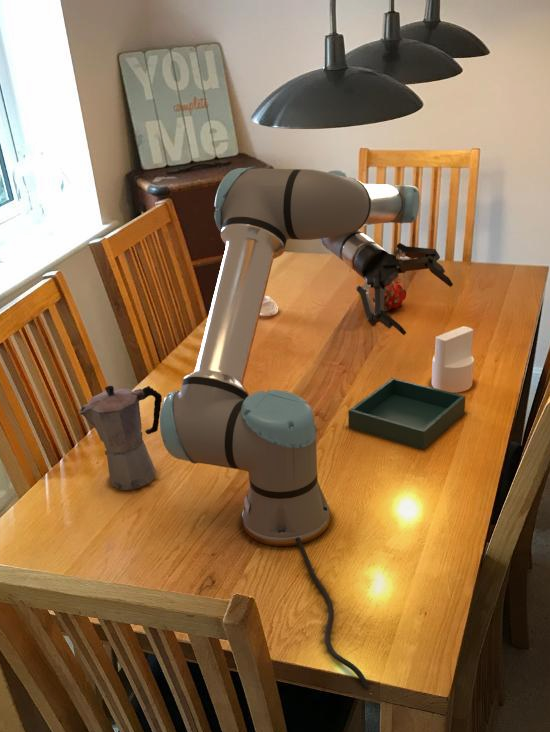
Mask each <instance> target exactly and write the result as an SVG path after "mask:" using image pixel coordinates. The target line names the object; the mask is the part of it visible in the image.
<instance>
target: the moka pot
mask: <svg viewBox="0 0 550 732" xmlns="http://www.w3.org/2000/svg"><path fill="white" fill-rule="evenodd" d="M150 396H151V397H153V398H154V405H153V406H154V407H153V421H152V426H151V427H150V428H148V429H146V430H145V431H144V432H145V433H146V434H147V435H151V434H153V433H156V432H158V430H159V425H160V413H161V408H162V403H163V396H162V394H160V393H159V392H158V391H157V390H156V389H154V388H153V387H151V386H150V385H147V386H146V387H143V388H139V389H135V390H131V389H128V388H116V389H114V385H108V386H105V387H104V391H103V392H101V393H97V394H96V395H94V396H92V397H90V399H89V401H88V402H87V403H86V404H83V405H82V406H81V408H80V409H79V410H78V414H79V415H82V416H83V417H84V418H85V419H86V420H87V421H88V423H90V425H91V426H92V427H93V428H94V429H95V431H96V432H97V435H98V437H99V440H100V441H101V442H102V443H103V446H104V448H105V450H104V455H106V460H107V467H108V474H109V481H110V486H112V487H113V488H115V489H117V490H121V491H133V490H137V489H140V488H142V487H145V486H147V485H148V484H150V483H151V482H152V481H153V480H154V479H155V477H156V468H155V466H154V463H153V461H152V459H151V456H150V454H149V451H148V449H147V446H146V443H145V442H144V440H143V432H142V430H143V429H142V419H141V408H140V407H141V406H140V401H144V400H145V399H147V398H148V397H150Z"/></svg>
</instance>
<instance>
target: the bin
mask: <svg viewBox="0 0 550 732" xmlns="http://www.w3.org/2000/svg"><path fill="white" fill-rule="evenodd" d="M465 410H466V395H462V394H460V393H451V392H447V391H443V390H439V389H435V388H434V387H432V386H428V385H423V384H419V383H415V382H411V381H407V380H403V379H399V378H395V377H391V378H390V379H389V380H387V381H386V382H385V383H383V384H382V385H380V386H379V387H377V389H375V390H374V391H372V392H371V393H370V394H369V395H367V396H366V397H364V398H363V399H362V400H360V401H359V402H357V403H356V404H355V405H354V406H352V407H351V408H350V409H349V410H348V413H347V414H348V429H352V430H354V431H358V432H361V433H365V434H368V435H371V436H375V437H379V438H382V439H385V440H388V441H391V442H395V443H398V444H402V445H405V446H408V447H412V448H416V449H419V450H422V451H424V450H426V448H427V447H429V446H430V445H431V444H432V443H433V442H434V441H435V440H436V439H437V438H439V437H440V436H441V435H442V434H443V433H444V432H445V431H446V430H448V429H449V428H450V427H451V426H452V425H454V423H456V422H457V421H458V420H459V419H460V418H461V417H462V416H463V415H465V412H466V411H465Z"/></svg>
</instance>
